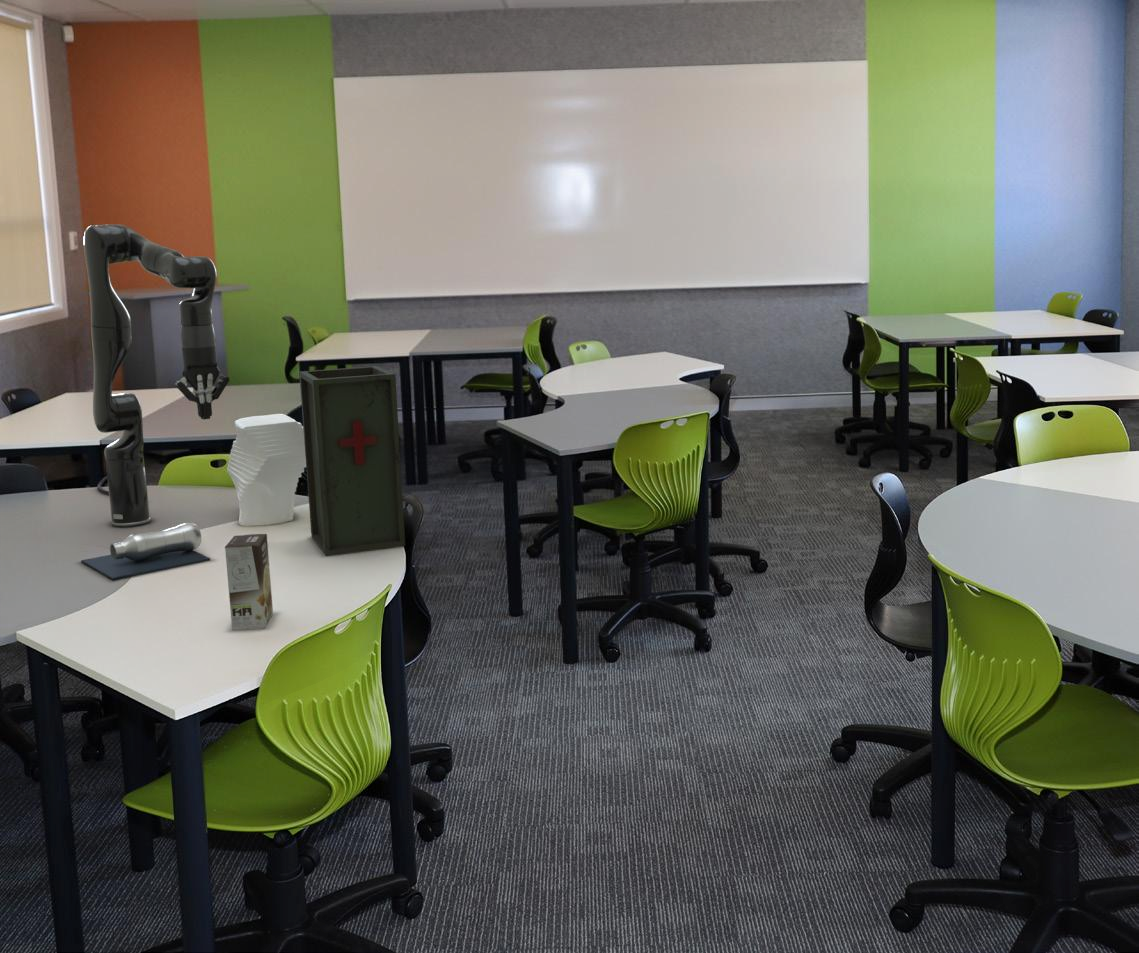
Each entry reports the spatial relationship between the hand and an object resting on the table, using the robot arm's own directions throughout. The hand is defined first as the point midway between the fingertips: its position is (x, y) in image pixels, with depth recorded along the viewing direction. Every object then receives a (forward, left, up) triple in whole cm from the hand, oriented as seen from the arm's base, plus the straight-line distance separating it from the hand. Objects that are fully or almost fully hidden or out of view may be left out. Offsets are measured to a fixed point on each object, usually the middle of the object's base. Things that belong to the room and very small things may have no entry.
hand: (205, 418), depth 284 cm
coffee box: (+62, -20, -30) cm, 72 cm away
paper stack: (-16, +23, -30) cm, 41 cm away
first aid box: (+24, +24, -30) cm, 46 cm away
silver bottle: (+4, -6, -26) cm, 27 cm away
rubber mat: (+4, -19, -30) cm, 36 cm away
